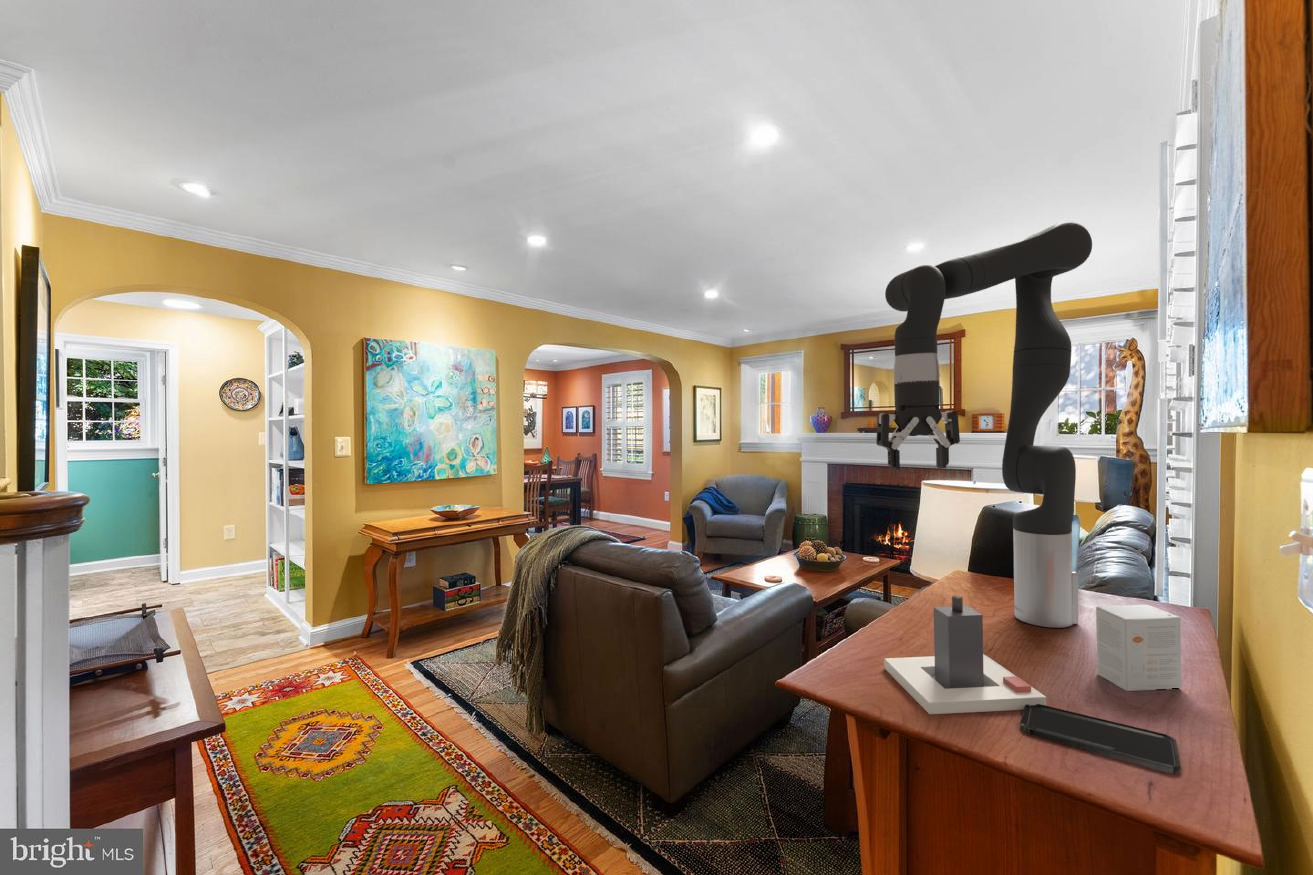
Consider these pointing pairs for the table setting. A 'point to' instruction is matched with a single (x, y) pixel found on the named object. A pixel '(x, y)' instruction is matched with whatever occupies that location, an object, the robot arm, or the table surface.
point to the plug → (958, 646)
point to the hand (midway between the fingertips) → (918, 469)
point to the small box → (1138, 647)
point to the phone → (1102, 737)
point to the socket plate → (935, 699)
